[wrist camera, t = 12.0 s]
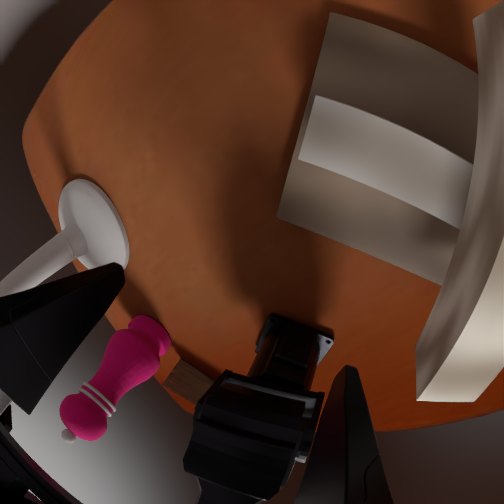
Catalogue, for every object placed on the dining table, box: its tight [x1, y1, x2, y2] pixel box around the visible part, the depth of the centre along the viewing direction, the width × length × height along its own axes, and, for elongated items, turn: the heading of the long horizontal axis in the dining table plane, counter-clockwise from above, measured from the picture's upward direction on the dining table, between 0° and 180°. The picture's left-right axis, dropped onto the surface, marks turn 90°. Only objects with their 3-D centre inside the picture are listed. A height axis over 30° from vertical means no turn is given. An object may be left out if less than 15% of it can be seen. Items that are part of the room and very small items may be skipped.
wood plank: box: [162, 359, 215, 405], centre depth 35 cm, size 15×2×5 cm, turn 59°
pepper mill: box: [60, 315, 171, 443], centre depth 27 cm, size 7×7×20 cm
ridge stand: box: [276, 12, 479, 286], centre depth 11 cm, size 14×22×6 cm, turn 78°
